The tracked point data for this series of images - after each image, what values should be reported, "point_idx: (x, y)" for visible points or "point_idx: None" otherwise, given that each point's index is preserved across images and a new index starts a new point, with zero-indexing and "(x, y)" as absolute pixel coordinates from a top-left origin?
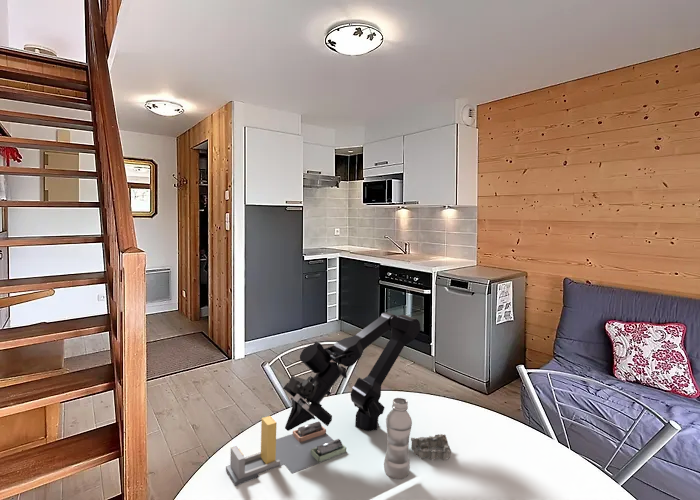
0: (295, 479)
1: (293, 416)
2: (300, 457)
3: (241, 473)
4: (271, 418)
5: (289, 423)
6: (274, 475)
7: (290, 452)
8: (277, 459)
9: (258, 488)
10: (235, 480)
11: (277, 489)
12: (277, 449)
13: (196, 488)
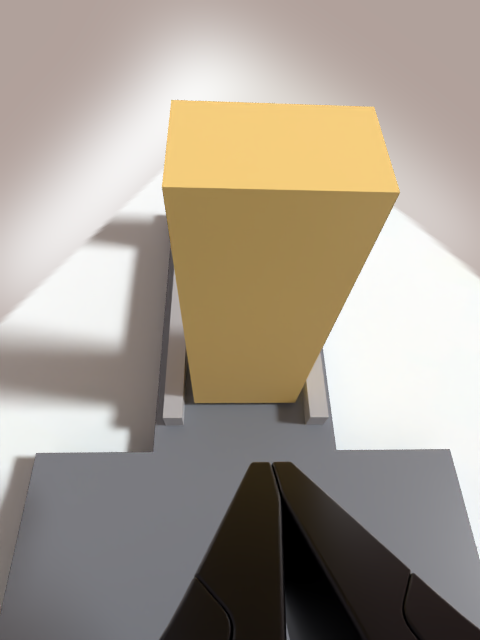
0: (11, 470)
1: (267, 598)
2: (149, 612)
3: None
4: (311, 179)
5: (252, 502)
6: (130, 378)
7: None
8: (225, 434)
9: (95, 280)
10: None
11: (21, 346)
12: (335, 485)
13: None
